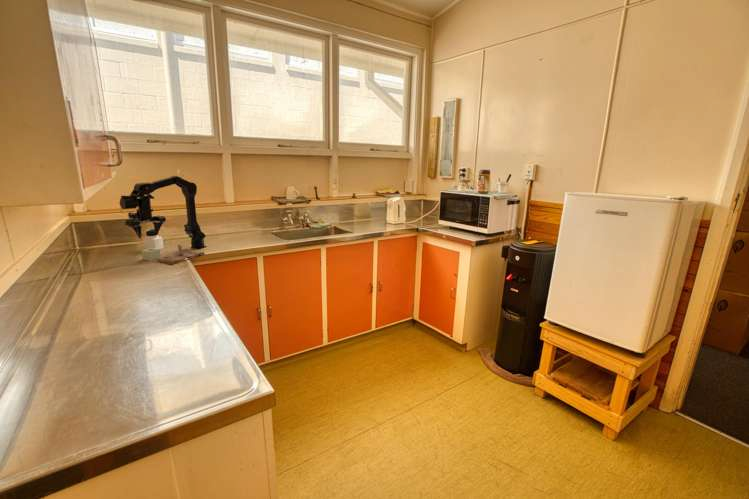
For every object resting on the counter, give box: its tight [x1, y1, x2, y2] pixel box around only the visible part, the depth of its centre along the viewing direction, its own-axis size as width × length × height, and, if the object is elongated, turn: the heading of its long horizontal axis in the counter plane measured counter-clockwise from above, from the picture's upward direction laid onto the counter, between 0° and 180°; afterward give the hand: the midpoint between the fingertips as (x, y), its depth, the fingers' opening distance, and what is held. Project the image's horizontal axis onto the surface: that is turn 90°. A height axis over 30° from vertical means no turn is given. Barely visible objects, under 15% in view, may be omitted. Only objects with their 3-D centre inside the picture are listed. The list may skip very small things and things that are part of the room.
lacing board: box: [156, 243, 205, 265], centre depth 192 cm, size 20×12×8 cm, turn 157°
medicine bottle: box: [142, 228, 165, 250], centre depth 206 cm, size 7×7×12 cm
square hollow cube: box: [140, 248, 162, 262], centre depth 190 cm, size 6×6×5 cm
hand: (148, 236), depth 187 cm, fingers open, 9 cm apart
